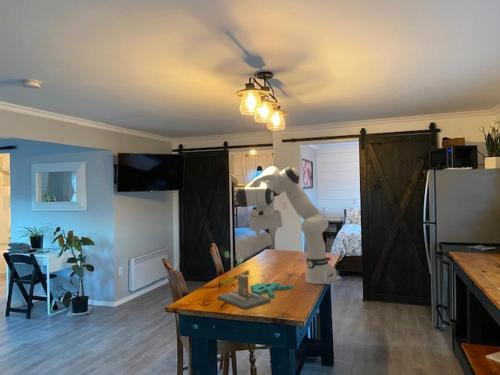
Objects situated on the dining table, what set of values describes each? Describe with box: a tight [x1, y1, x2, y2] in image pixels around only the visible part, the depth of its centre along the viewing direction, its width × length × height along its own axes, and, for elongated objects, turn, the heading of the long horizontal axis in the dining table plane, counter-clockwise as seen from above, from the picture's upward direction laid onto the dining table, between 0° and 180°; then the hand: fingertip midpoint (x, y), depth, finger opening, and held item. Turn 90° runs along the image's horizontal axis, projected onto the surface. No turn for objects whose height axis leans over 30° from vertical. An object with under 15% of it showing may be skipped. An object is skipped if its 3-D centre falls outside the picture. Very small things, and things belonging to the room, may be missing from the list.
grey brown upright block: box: [237, 274, 251, 298], centre depth 186 cm, size 5×6×11 cm
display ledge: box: [217, 289, 271, 310], centre depth 186 cm, size 16×24×3 cm, turn 38°
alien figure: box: [250, 281, 294, 299], centre depth 201 cm, size 20×2×20 cm
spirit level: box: [218, 269, 250, 288], centre depth 225 cm, size 33×1×3 cm, turn 151°
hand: (266, 237), depth 189 cm, fingers open, 8 cm apart
